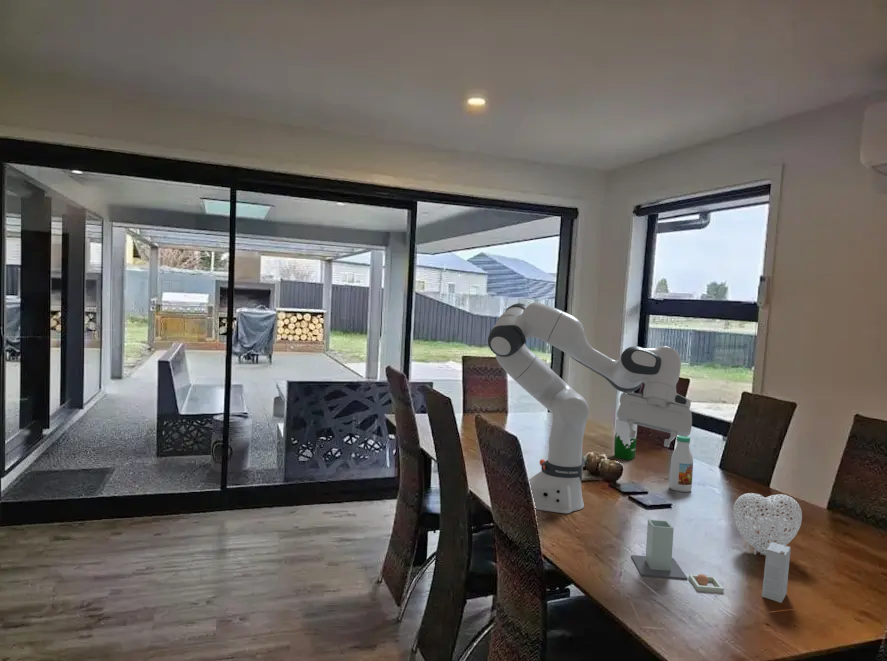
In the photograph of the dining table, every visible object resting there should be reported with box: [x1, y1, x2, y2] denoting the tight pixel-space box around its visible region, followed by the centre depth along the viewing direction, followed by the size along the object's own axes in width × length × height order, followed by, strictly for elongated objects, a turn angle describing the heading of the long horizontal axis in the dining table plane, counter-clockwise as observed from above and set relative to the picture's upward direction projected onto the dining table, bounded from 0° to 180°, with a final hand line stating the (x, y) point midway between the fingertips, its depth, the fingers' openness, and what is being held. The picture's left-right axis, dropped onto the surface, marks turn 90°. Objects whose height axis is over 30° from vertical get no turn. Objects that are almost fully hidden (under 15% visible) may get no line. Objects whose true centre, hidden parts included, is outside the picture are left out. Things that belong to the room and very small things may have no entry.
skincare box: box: [761, 542, 792, 604], centre depth 134 cm, size 6×4×12 cm
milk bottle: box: [669, 435, 694, 493], centre depth 214 cm, size 8×8×20 cm
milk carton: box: [613, 417, 638, 461], centre depth 258 cm, size 9×9×20 cm
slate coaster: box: [630, 554, 688, 581], centre depth 146 cm, size 11×11×1 cm
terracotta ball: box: [696, 573, 709, 586], centre depth 138 cm, size 3×3×3 cm
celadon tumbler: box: [645, 518, 675, 571], centre depth 146 cm, size 5×5×11 cm
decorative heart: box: [732, 492, 803, 557], centre depth 158 cm, size 18×11×17 cm, turn 89°
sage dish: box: [688, 574, 725, 594], centre depth 138 cm, size 6×6×2 cm
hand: (648, 441), depth 161 cm, fingers open, 8 cm apart
